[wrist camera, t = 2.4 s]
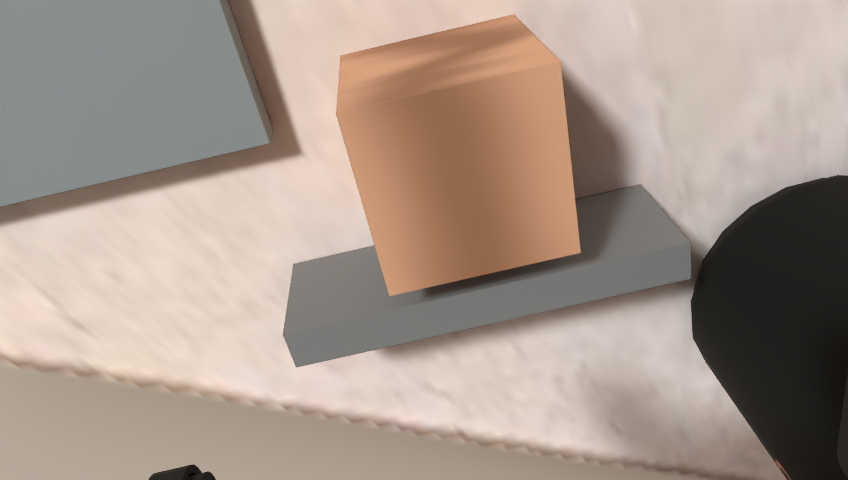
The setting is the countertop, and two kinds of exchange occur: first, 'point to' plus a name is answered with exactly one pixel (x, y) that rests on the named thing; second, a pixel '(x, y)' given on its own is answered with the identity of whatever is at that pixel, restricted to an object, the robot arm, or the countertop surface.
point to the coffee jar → (782, 322)
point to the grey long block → (483, 283)
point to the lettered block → (460, 152)
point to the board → (119, 91)
